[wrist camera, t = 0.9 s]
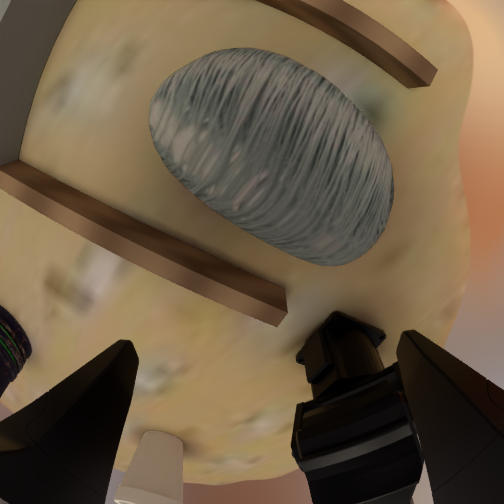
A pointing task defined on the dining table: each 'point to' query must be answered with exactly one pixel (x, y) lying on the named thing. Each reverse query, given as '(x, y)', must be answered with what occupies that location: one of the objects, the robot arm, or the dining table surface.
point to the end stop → (24, 62)
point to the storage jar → (11, 349)
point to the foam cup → (154, 472)
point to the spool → (275, 153)
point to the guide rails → (179, 253)
